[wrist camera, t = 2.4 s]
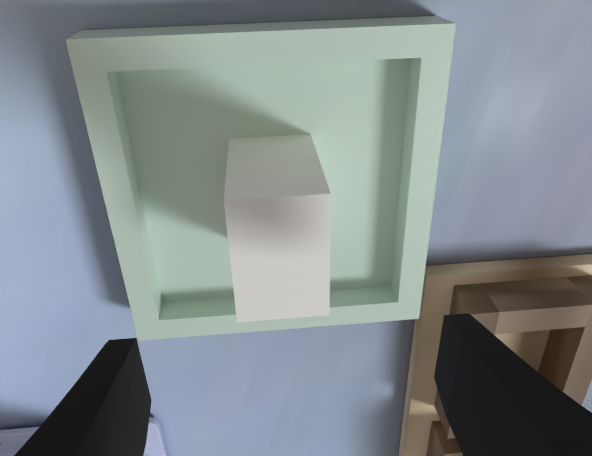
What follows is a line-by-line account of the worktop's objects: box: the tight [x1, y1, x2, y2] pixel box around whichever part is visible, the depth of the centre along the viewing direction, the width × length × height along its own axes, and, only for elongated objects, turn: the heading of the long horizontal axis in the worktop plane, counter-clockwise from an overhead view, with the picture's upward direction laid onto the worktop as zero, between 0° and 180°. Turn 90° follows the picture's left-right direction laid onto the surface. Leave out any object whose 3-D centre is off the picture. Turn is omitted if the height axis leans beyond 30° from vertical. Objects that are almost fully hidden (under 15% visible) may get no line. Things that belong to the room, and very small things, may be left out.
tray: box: [65, 16, 456, 341], centre depth 19 cm, size 12×12×2 cm
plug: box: [224, 134, 331, 322], centre depth 17 cm, size 3×4×5 cm
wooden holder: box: [398, 254, 592, 456], centre depth 26 cm, size 9×18×3 cm, turn 2°
